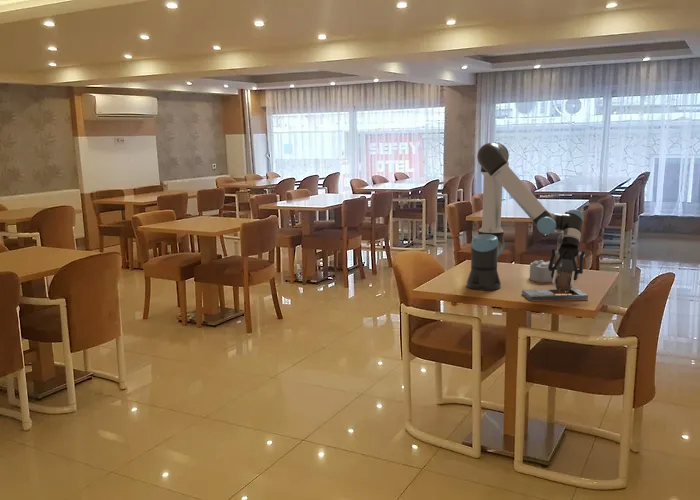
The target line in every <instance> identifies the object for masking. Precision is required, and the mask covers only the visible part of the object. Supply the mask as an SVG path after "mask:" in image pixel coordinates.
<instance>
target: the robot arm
mask: <svg viewBox="0 0 700 500" xmlns="http://www.w3.org/2000/svg"><path fill="white" fill-rule="evenodd" d="M476 155H477V156H476V157H477V159H476V160H477V162H478V164H479V166H480V173H481V174H482V175H483V193H482V215H481V216H482V218H481V227H480V228H479V229H478V234H477V235H476V234H475V235H474V236H473V237H472V238H471V244H470V246H471V247H470V248H471V250H470V251H471V252H470V253H471V254H470V255H471V257H470V271H469V275H468V278H467V280H466V287H467V288H469V289H471V290H478V291H495V290H498V289H500V288H501V284H502V283H501V279H500V276H499V273H498V257H499V256H501V255H502V254H503V252H504V250H505V247H506V243H505V239H504V235H505V234H504V233H505V232H504V230H503V228H502V226H501V225H502V223H501V221H502V203H503V189H504V190H505V191H506V192H507V194H509V195H510V197H511V198H512V199H513V200H514V201H515V203H516V204H517V205H518V206H519V207H520V208H521V210H522V211H523V212H524V213H525V214H526V215H527V217H529V219H530V220H532V222H533V224H534V225H535V226H536V228H537V230H538V232H539V233H541V234H542V235H550V234H551V233H553V232H555V231H561V232H563V235H562V240H561V246H560V248H559V250H557V249H556V250H555V249H552V250H551V253H552V254H551V257H550V260H549V261H550V263H549V266H548V269H549V271H552V273H551V277H552V278H553V281H552V282H551V284H552V286H553V287H556V286H555V282H556V278H557V276H558V270H557V269H558V268H559V266H560V264H561V263H562V261H564V259H569V260H572V264H573V268H574V271H573V272H572V273H571V284H570V285H571V289H574V283H575V281H577V280H578V276H579V275H580V274H581V275H582V274H583V273H584V259H585V258H586V253H585V251H580V250H579V249H580V248H579V247H580V241H581V237H582V230H583V225H584V212H582V211H581V210H578V209H569V210H567V211H566V212H567V214H565V213H558V212H556V213H555V212H549V211H548V210H547V208H545V206H543V204H542V202H540V201H539V200H538V198H537V197H536V196H535V195H534V194H533V193H532V191H531V190H530V189H529V188H528V187H527V186H526V184H525V183H524V182H523V181H522V180H521V179H520V177H518V175H517V174H516V173H515V172H514V170H513V169H512V168H511V167H510V165H509V164H510V162H509V158H510V157H509V156H510V153H509V151H508V148H507V147H506V146H505V145H504V144H503V143H500V142H488V143H485V144H483V145H481V146H480V148H479V150H478V152H477V154H476ZM558 253H559V254H560V257H559V259H558V260H557V254H558ZM576 256H577V257H579V268H578V266H576V262H575V257H576ZM555 261H556V262H555ZM553 265H554V266H553Z"/></svg>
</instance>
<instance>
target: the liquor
mask: <svg viewBox="0 0 700 500" xmlns="http://www.w3.org/2000/svg"><path fill="white" fill-rule="evenodd" d="M567 212H568V211H565V212H564V214H567ZM562 235H563V231H561V233H560V234H559V235H558V236H557V245H556V247H557V248H556V250H559V248H560V246H561V240H562ZM559 257H560V254H559V253H558V254H557V256H556V261H557V260H558V259H559ZM575 262H576V266H577V264H578V255H577V256H576V257H575ZM577 267H578V266H577ZM561 271H567V272H568V274H569V273H571V274H572V272H573V271H574V268H573V264H572V260H569V259H564V261H562V263H561V264H560V266H559V268H558V269H557V273H561Z"/></svg>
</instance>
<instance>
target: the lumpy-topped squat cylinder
mask: <svg viewBox="0 0 700 500" xmlns="http://www.w3.org/2000/svg"><path fill="white" fill-rule="evenodd" d="M549 263H550V260H548V261H544V260H543V259H540V260H534V261H533V262H531V263H530V266H529V267H530V268H529V280H532V281H534V282H537V283H548V282H549V283H552V281H553V278H552V277H551V273H552V271H549V269H548V266H549ZM554 265H555V264H553V266H554Z"/></svg>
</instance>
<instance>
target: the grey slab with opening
mask: <svg viewBox="0 0 700 500" xmlns="http://www.w3.org/2000/svg"><path fill="white" fill-rule="evenodd" d="M521 295H522V296H523V297H525V298H526V299H528V301H530V302H551V301H552V302H557V301H589V294H587V293H585V292H583V291H582V290H580V289H578V288H571V290H570V291H569V292H559V291H558V290H557V289H556V288H537V289H535V288H533V289H521Z"/></svg>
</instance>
